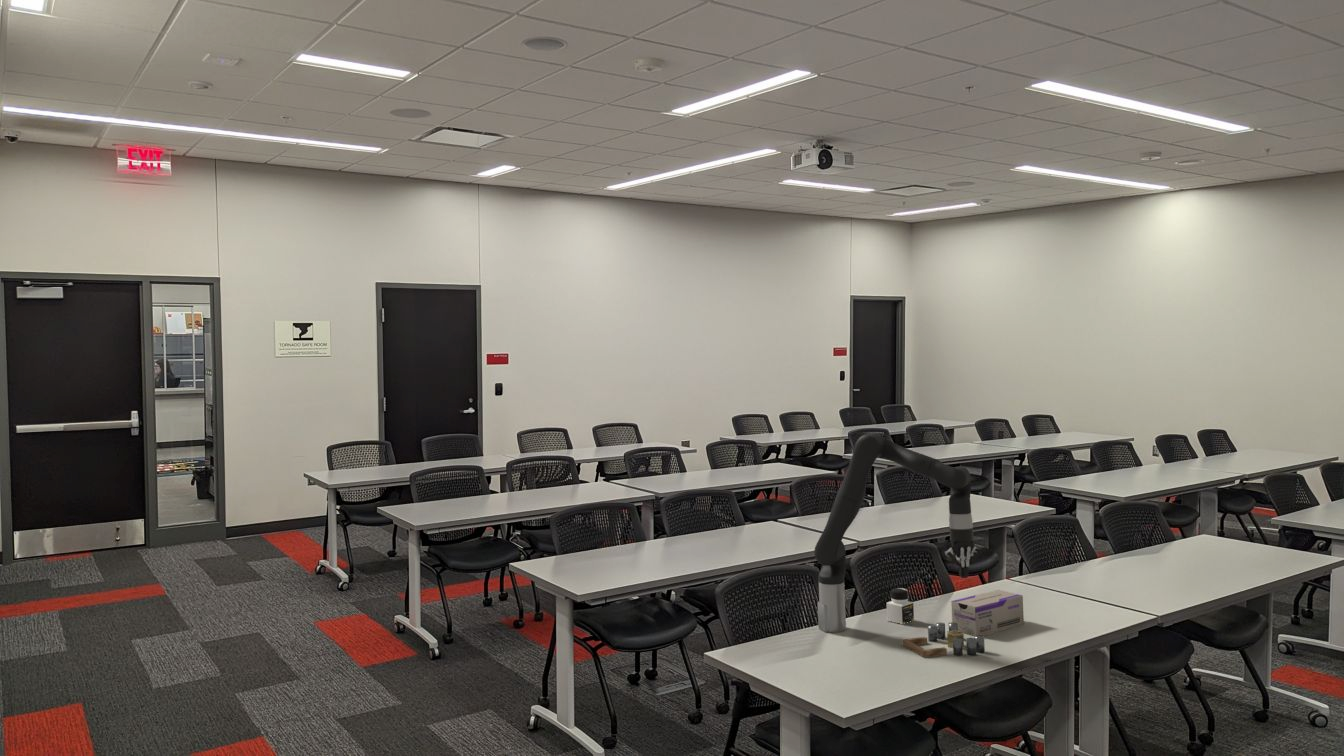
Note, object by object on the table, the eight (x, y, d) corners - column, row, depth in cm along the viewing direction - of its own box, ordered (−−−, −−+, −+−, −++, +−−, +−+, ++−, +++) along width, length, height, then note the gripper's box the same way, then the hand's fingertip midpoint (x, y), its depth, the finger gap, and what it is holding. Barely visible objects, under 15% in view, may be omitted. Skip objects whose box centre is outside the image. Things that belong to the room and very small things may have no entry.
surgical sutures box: (999, 618, 328) (998, 589, 328) (1023, 624, 319) (1022, 595, 319) (952, 630, 315) (951, 600, 315) (976, 637, 306) (975, 607, 306)
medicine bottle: (902, 625, 324) (901, 592, 324) (886, 621, 329) (885, 589, 329) (914, 621, 328) (913, 589, 328) (898, 617, 334) (897, 585, 334)
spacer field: (959, 657, 286) (958, 642, 286) (924, 638, 307) (923, 624, 307) (989, 653, 288) (988, 638, 288) (952, 635, 309) (952, 620, 309)
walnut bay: (923, 657, 287) (923, 651, 287) (902, 645, 301) (902, 639, 301) (946, 654, 289) (946, 648, 289) (925, 642, 303) (924, 636, 303)
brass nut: (952, 649, 294) (951, 636, 294) (943, 645, 299) (943, 631, 299) (968, 647, 296) (967, 634, 296) (959, 643, 301) (959, 629, 301)
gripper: (949, 529, 293) (952, 582, 293) (984, 526, 296) (988, 577, 296) (937, 526, 300) (940, 577, 300) (972, 523, 303) (975, 573, 303)
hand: (964, 577), depth 298 cm, fingers closed
